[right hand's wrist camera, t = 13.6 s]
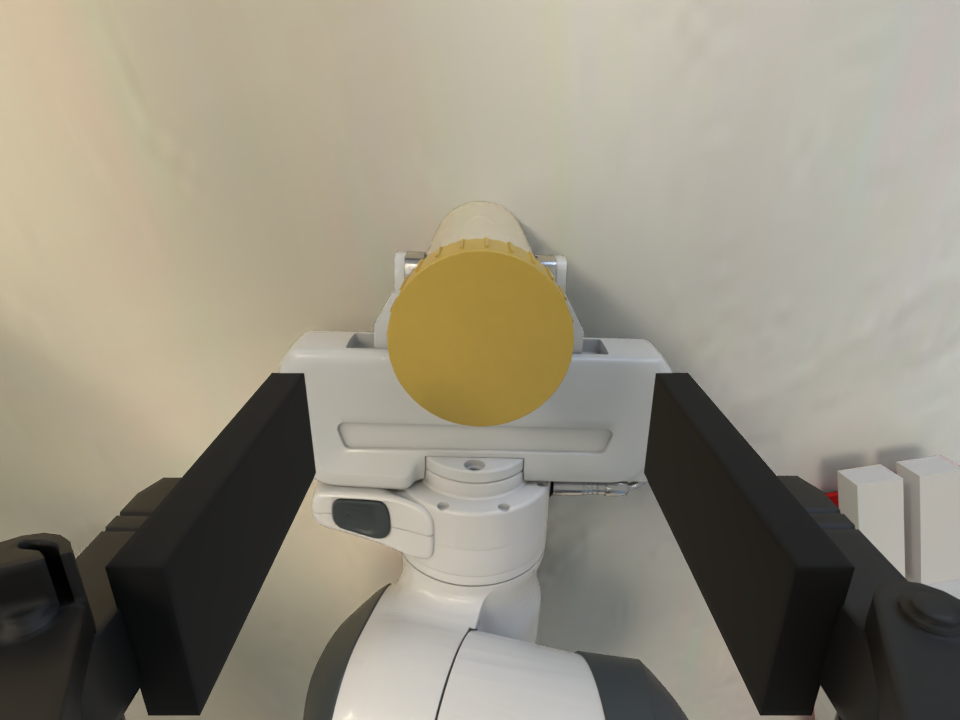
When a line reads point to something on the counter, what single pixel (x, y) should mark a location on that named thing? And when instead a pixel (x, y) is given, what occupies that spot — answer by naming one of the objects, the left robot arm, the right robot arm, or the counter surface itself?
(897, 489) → the toy
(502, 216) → the jar
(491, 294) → the lid
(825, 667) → the right robot arm
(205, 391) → the counter surface
